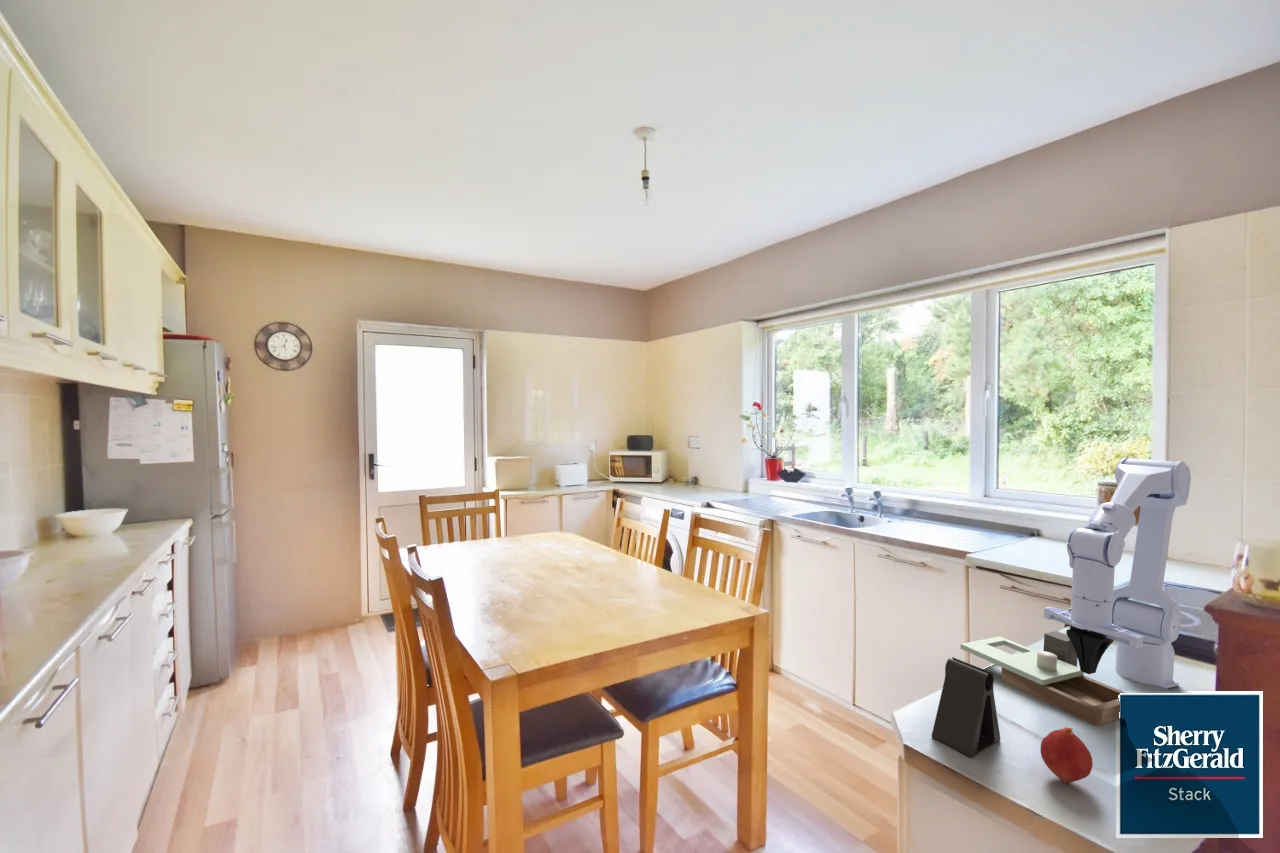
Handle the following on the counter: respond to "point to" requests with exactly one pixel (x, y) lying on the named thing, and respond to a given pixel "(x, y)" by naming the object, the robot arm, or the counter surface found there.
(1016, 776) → the counter surface
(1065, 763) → the onion
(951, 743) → the phone stand
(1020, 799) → the counter surface
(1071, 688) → the brown box
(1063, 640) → the block
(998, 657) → the lid
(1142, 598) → the robot arm
